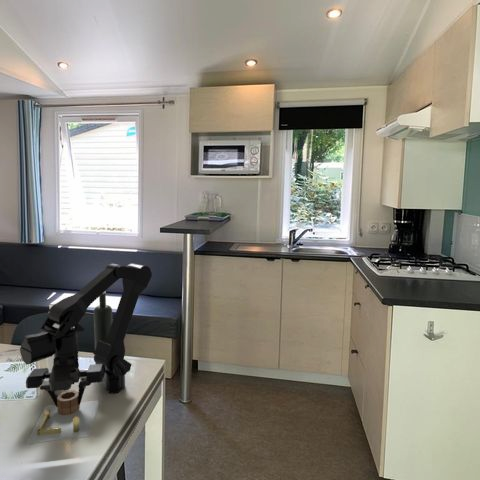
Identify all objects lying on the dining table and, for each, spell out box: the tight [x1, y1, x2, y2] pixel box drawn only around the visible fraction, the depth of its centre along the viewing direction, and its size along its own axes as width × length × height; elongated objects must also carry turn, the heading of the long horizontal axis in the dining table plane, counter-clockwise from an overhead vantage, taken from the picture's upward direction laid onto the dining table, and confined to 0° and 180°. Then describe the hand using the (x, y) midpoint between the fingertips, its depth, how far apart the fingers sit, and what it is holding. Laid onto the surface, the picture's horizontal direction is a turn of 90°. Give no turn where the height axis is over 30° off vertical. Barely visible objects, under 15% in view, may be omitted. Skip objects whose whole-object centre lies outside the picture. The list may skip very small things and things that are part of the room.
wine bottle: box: [93, 290, 113, 350], centre depth 124 cm, size 6×6×30 cm
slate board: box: [25, 400, 100, 445], centre depth 97 cm, size 16×14×1 cm
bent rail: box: [37, 409, 62, 436], centre depth 95 cm, size 8×6×2 cm
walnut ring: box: [57, 389, 80, 415], centre depth 101 cm, size 5×5×4 cm
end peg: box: [73, 416, 79, 432], centre depth 92 cm, size 1×1×4 cm
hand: (68, 405), depth 101 cm, fingers closed on walnut ring, 5 cm apart
